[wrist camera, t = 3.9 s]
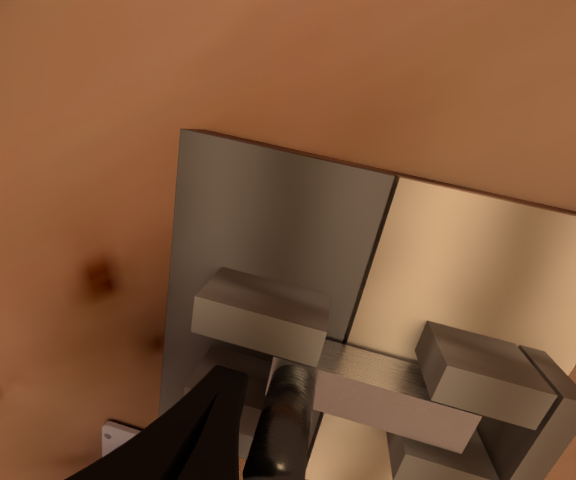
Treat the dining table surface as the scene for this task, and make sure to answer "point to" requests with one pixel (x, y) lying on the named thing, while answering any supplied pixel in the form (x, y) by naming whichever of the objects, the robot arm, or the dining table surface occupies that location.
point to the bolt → (347, 407)
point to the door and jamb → (375, 301)
